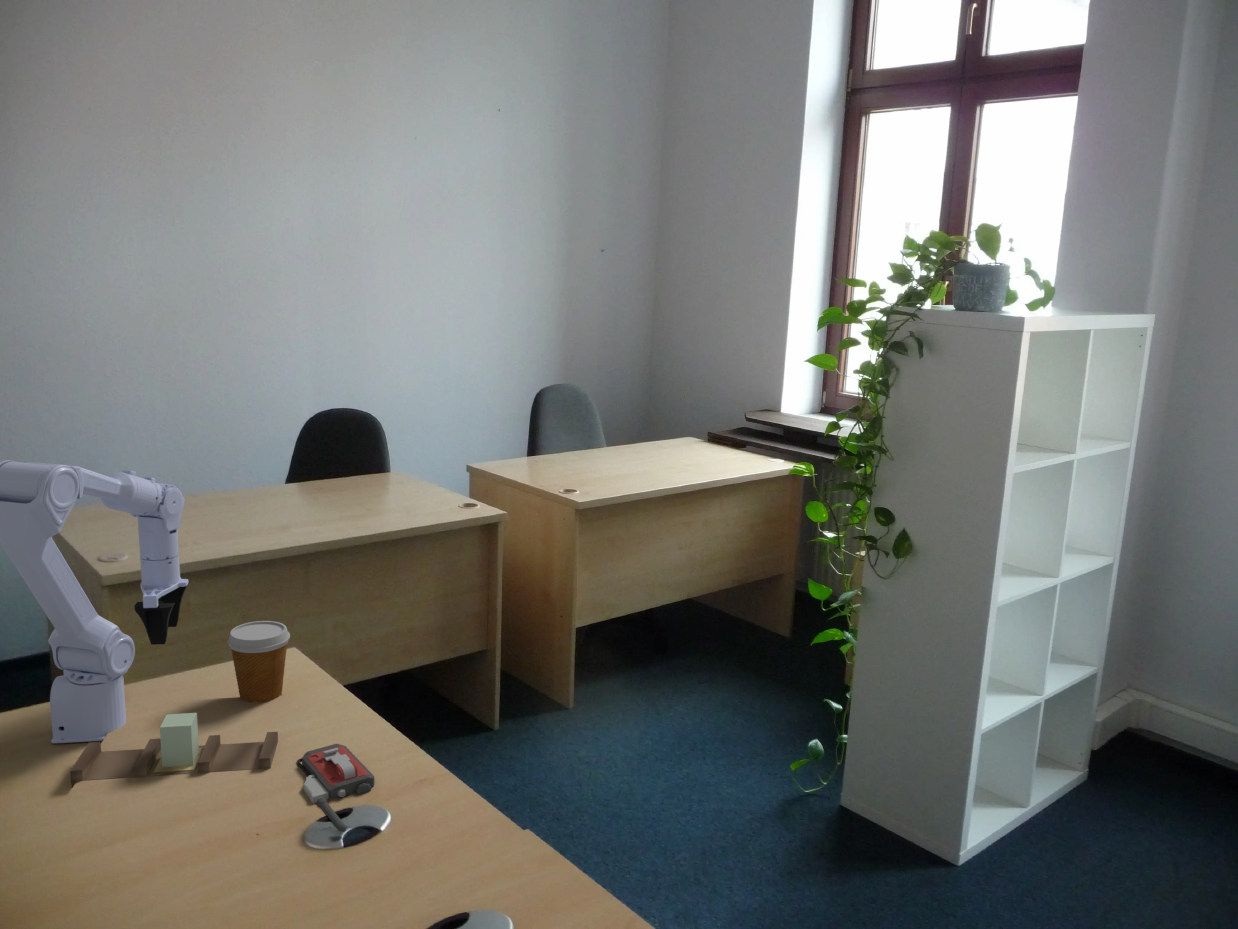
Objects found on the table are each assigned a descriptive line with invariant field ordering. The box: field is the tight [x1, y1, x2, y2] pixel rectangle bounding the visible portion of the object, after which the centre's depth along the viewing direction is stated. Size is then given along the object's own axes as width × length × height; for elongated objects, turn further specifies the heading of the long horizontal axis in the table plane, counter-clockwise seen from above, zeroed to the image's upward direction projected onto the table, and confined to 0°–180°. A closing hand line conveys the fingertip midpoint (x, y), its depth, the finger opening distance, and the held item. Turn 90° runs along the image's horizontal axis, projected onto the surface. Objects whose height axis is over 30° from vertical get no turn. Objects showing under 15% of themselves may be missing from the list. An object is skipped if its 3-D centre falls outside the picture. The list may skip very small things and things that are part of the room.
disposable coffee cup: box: [227, 620, 291, 704], centre depth 158 cm, size 10×10×12 cm
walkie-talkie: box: [296, 743, 376, 832], centre depth 131 cm, size 9×4×20 cm
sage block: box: [159, 712, 200, 767], centre depth 136 cm, size 4×4×6 cm
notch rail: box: [69, 731, 279, 789], centre depth 137 cm, size 26×8×2 cm, turn 102°
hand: (164, 634), depth 160 cm, fingers open, 7 cm apart
